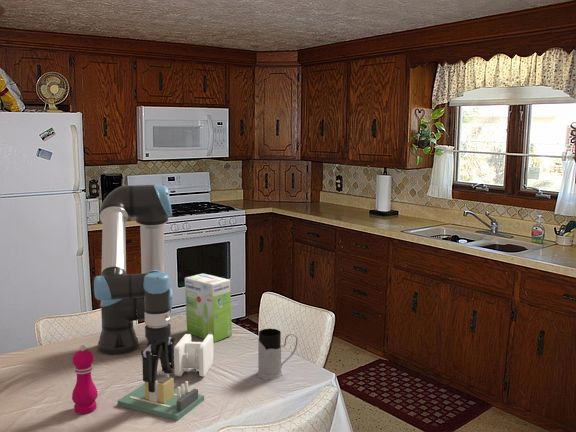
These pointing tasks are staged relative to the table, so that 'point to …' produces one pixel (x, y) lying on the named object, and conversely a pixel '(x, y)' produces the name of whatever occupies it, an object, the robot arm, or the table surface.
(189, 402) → the board
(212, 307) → the toothbrush box
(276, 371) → the grey mug
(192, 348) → the cable organizer
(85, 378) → the pepper mill
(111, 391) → the table surface
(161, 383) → the plug block
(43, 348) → the table surface
